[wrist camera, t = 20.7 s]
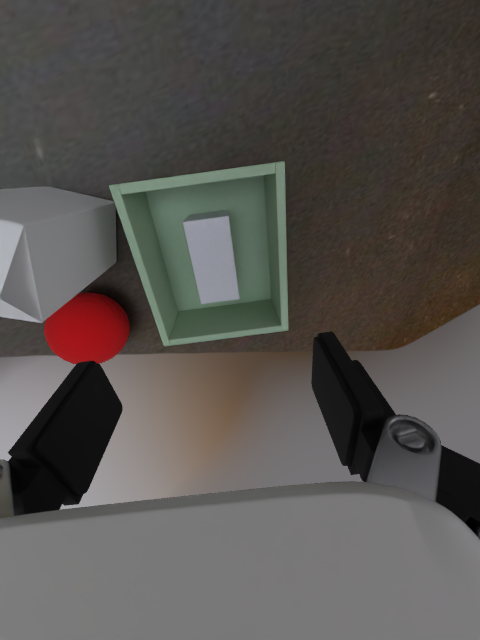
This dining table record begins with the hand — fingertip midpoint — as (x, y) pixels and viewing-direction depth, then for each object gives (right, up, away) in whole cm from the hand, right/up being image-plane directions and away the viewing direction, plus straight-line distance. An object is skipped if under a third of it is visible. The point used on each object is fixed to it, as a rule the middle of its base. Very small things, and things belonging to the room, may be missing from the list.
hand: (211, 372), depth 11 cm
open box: (-2, +11, +20) cm, 23 cm away
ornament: (-15, +3, +16) cm, 22 cm away
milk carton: (-17, +13, +18) cm, 28 cm away
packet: (-2, +11, +20) cm, 22 cm away
